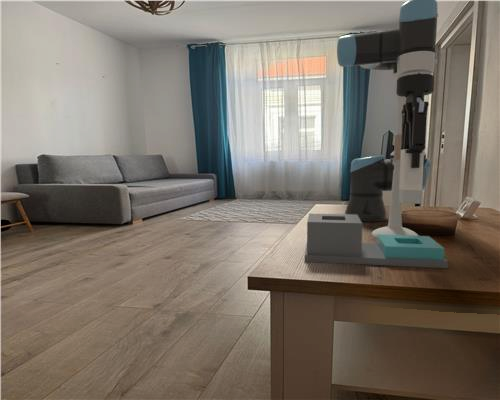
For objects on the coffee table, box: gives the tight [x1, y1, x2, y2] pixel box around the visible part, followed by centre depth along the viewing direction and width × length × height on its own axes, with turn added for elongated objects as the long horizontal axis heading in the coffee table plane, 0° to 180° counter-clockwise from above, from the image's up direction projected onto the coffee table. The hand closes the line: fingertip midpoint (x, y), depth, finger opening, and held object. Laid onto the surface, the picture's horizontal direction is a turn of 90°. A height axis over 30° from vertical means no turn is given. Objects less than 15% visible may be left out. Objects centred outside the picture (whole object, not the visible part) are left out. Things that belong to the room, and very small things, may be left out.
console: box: [304, 213, 449, 269], centre depth 86 cm, size 30×14×9 cm, turn 79°
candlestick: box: [371, 133, 419, 239], centre depth 105 cm, size 13×13×30 cm
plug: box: [399, 149, 426, 205], centre depth 82 cm, size 5×4×12 cm
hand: (410, 182), depth 82 cm, fingers closed on plug, 4 cm apart
